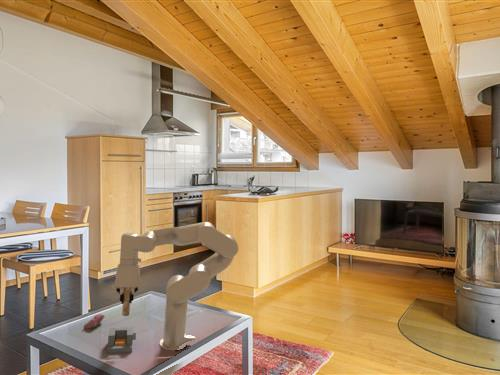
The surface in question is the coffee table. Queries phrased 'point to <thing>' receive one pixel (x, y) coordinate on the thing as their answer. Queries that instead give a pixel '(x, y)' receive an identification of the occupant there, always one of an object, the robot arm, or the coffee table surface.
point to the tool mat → (134, 336)
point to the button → (120, 342)
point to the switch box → (119, 334)
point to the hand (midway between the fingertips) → (126, 302)
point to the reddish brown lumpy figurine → (94, 321)
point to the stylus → (126, 301)
